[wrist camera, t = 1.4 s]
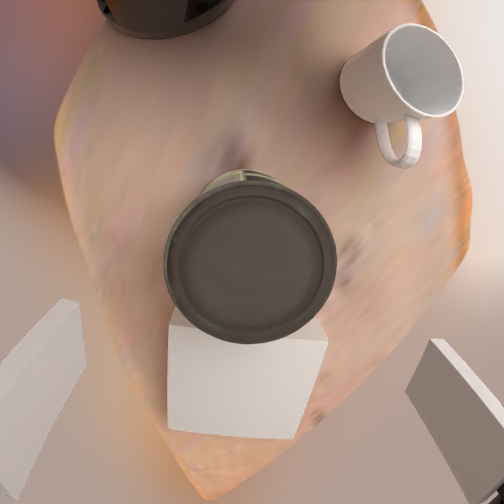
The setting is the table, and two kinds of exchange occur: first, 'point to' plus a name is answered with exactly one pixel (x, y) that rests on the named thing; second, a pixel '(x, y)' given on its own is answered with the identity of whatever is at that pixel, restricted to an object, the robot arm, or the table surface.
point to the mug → (403, 85)
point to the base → (240, 381)
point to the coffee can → (249, 259)
